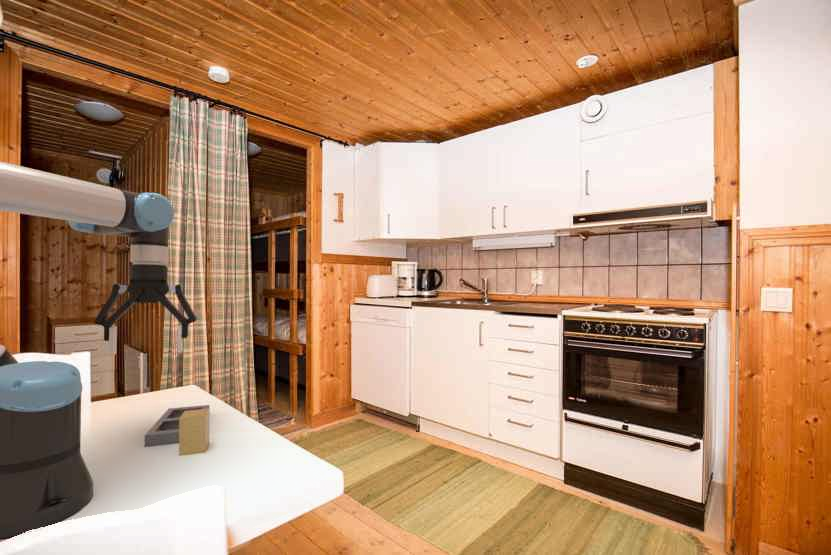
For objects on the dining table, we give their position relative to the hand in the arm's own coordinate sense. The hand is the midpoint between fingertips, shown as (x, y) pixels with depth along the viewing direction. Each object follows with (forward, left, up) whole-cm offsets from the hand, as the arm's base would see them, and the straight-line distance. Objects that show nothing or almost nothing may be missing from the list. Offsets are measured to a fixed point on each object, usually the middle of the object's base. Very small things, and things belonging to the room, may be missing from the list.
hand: (147, 353), depth 95 cm
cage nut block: (-11, -12, -20) cm, 26 cm away
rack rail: (+4, -6, -20) cm, 21 cm away
